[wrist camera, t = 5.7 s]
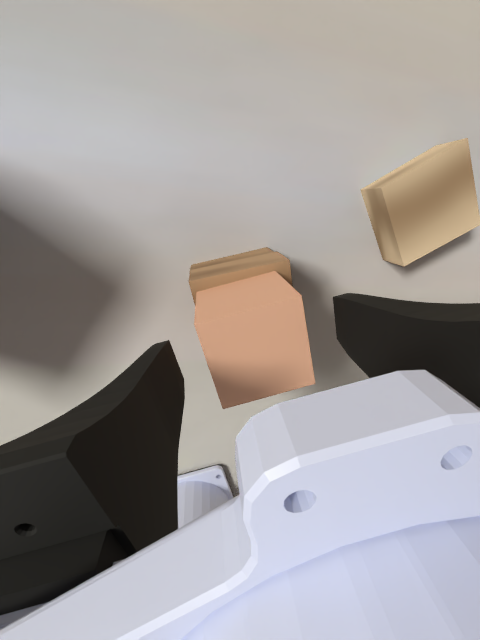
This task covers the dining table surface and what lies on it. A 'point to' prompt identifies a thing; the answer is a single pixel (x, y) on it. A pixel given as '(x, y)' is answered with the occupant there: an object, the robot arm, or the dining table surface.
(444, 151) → the slab
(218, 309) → the terracotta cube
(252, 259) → the tower top
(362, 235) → the dining table surface
